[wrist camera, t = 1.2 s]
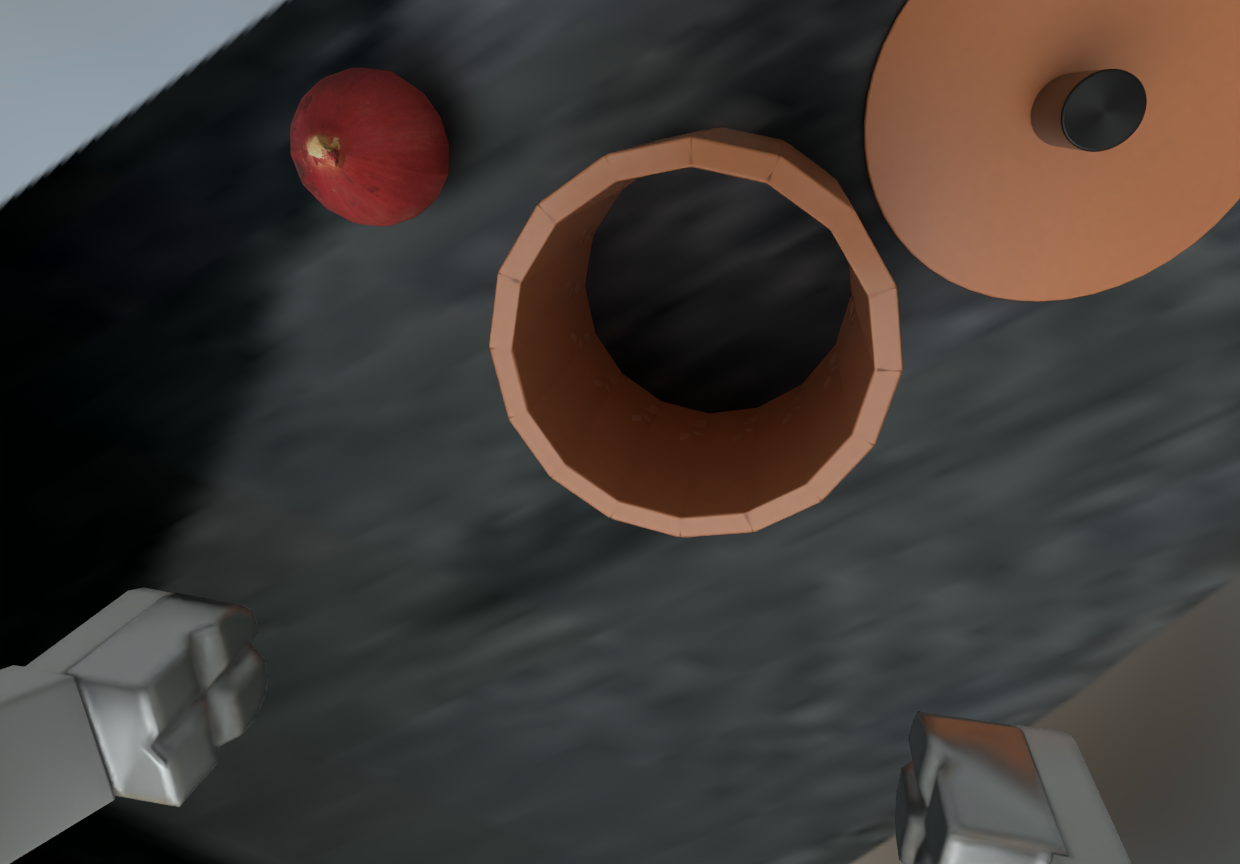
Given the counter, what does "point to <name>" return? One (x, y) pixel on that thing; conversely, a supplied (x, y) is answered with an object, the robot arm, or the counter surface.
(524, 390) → the pot
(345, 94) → the onion
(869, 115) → the lid
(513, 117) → the counter surface
